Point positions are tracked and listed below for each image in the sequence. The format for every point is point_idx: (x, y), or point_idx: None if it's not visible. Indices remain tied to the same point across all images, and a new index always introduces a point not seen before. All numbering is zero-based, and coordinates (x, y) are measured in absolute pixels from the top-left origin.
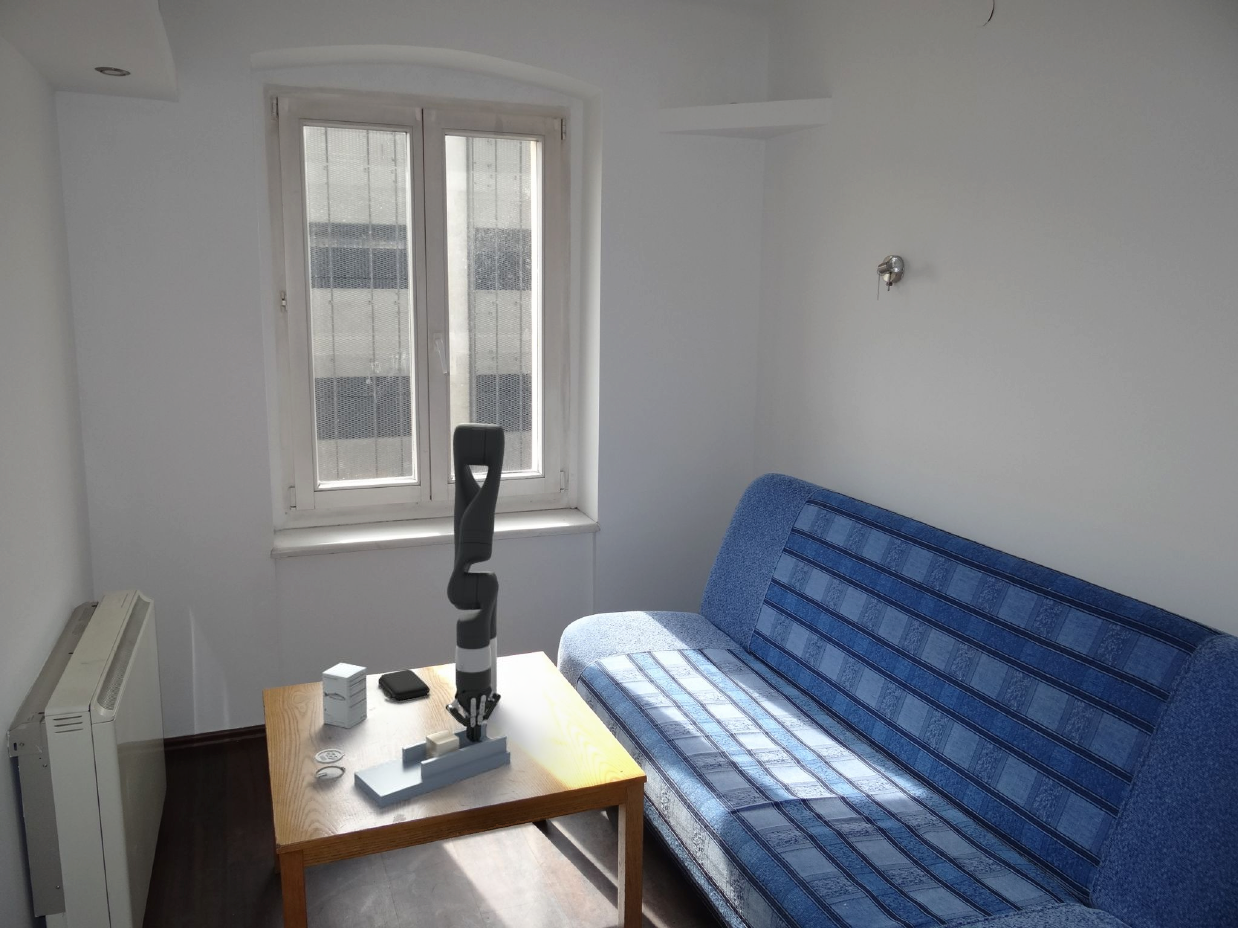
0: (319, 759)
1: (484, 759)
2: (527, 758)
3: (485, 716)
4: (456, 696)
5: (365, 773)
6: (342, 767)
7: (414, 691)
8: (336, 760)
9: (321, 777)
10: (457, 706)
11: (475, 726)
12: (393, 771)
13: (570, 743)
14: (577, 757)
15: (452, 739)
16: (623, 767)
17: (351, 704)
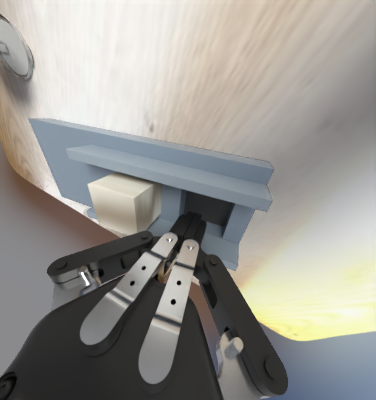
0: None
1: None
2: (261, 254)
3: (200, 282)
4: (43, 330)
5: (43, 135)
6: (25, 44)
7: None
8: None
9: (4, 56)
10: (83, 294)
11: (178, 252)
12: (77, 162)
13: (359, 288)
14: (305, 301)
15: (126, 232)
16: (306, 336)
17: None
